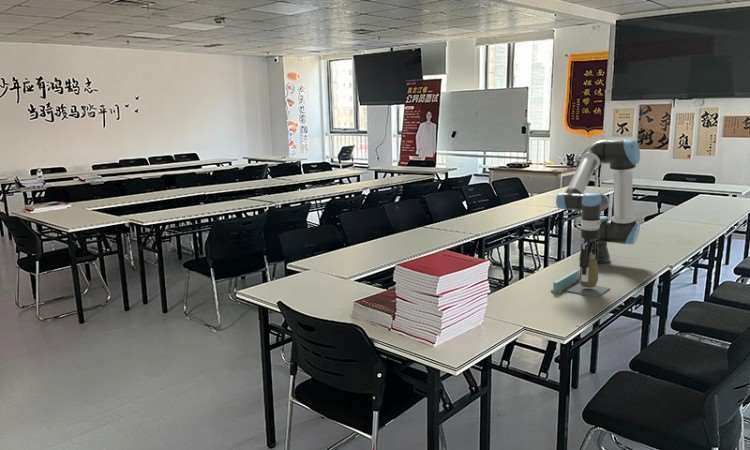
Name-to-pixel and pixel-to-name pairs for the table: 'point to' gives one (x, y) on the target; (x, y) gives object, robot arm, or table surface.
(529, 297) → the table surface
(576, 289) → the mat
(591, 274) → the squeeze bottle
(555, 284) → the fence
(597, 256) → the robot arm
